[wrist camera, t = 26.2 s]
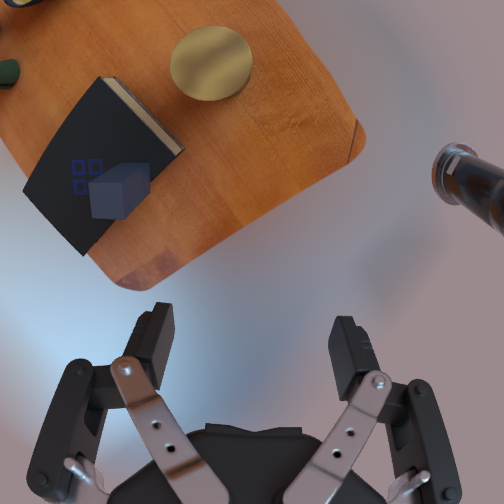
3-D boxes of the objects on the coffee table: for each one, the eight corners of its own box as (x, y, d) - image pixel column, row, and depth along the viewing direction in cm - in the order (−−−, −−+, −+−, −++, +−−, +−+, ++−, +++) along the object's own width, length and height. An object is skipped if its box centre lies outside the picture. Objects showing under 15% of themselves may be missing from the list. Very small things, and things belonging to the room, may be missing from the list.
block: (150, 192, 41) (124, 219, 33) (122, 191, 41) (92, 218, 33) (149, 162, 39) (121, 183, 30) (121, 162, 39) (88, 182, 30)
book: (42, 179, 46) (21, 191, 40) (117, 76, 38) (98, 75, 33) (98, 239, 53) (83, 257, 47) (185, 148, 45) (175, 156, 39)
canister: (264, 65, 38) (268, 51, 26) (231, 110, 42) (221, 115, 30) (216, 36, 36) (200, 13, 24) (183, 82, 39) (154, 77, 27)
